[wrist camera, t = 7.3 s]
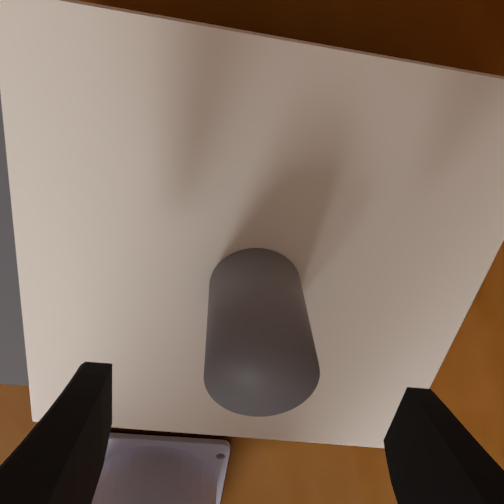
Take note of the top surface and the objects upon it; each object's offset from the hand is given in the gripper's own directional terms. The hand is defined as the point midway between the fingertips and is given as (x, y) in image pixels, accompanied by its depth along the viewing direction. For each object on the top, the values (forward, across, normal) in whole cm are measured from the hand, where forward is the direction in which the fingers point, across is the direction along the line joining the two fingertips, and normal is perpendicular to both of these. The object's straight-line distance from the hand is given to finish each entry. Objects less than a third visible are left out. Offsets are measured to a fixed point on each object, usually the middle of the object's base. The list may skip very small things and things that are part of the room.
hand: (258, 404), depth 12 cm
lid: (+5, 0, 0) cm, 5 cm away
